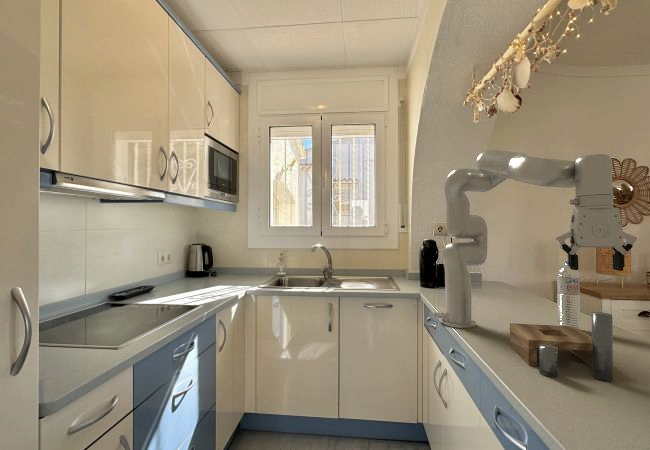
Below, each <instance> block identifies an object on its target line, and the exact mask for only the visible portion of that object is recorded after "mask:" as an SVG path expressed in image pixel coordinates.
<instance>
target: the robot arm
mask: <svg viewBox="0 0 650 450" xmlns="http://www.w3.org/2000/svg"><path fill="white" fill-rule="evenodd" d="M612 161H613V160H612V156H610V155H609V154H606V153H593V154H587V155H586V154H585V155H582V156H580V157H578V158H576V159H575V160H567V159H566V160H565V159H558V158H556V159H555V158H545V157H544V158H543V157H536V156H529V155H528V154H526V153H523V152H514V151H509V150H500V149H499V150H497V149H487V150H484V151H483V152H481V153H480V154H479V155H478V157H477V158H476V167H477V168H468V167H467V168H463V167H462V168H457V169H454V170H452V171H450V173H449V174H448V175H447V176H446V177H445V178H446V179H445V182H444V194H445V202H446V205H445V206H446V207H445V208H446V211H445V212H446V219H445V220H446V222H445V223H446V224H445V225H446V226H445V227H446V233H447V236H448V237H449V238H451V239H455V240H466V241H465V242H464V241H463V242H461V241H460V242H459V241H458V242H451V243H448V244H446V245H445V246H444V248H443V249H442V252H441V255H442V256H441V258H442V263H443V268H444V285H445V287H444V288H445V290H444V294H445V303H444V305H445V309H443V311H440V312H438V311H433V312H432V315H433V318H436V319H441V320H440V321H441V323H442V324H443V325H445V326H447V327H452V328H457V329H458V328H459V329H471V328H474V327H476V326H477V322H476V320H475V319H473V318H472V317H473V315H472V313H473V312H472V310H473V308H472V297H473V296H472V277H471V274H470V272H469V269H468V268H467V267H477V266H481V265H483V264H484V263H485V262H486V260H487V258H488V224H487V223H486V220H485V219H484V218H483V216H481V215H478V214H471V211H470V210H471V204H470V201H469V198H468V196H467V194H466V192H473V193H487V192H490V191H492V190H493V189H495V188H496V187H498V186H499V185H501V184H502V183H503V182H505V181H506V180H508V179H509V180H513V181H515V182H520V183H523V184H528V185H533V186H537V187H545V188H563V189H572V188H575V189H574V191H575V196H574V198H573V199H570V200H569V204H570V205H573V206H574V207H575V208H574V209H573V210H572V214H571V219H570V227H569V231H567V232H565V233H563V234H561V235H558V236H556V237H555V241H556V242H557V244H558V245H559V247H560V249H561V250H563V251H564V252H565V254H567V261H568V266H569V267H570V269H572V270H578V271H579V255H578V254H577V252H578V251H579V250H580V249H581V248H609V249H611V250H612V251H613V252H614V253H613V254H612V269H613V270H614V271H618V272H619V271H620V272H624V267H625V266H626V265H625V264H626V263H625V255H627V254H628V252H630V250H631V249H633V246H634V244H635V243H636V241H637V237H636V236H634V235H632V234H630V233H627V232H625V231H623V225H622V220H621V215H620V212H619V208H618V207H614V194H613V193H614V191H613V188H614V185H613V162H612ZM568 239H569V241H570V245H568V244H567V243H566V240H568ZM624 239H625V242H624Z"/></svg>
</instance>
